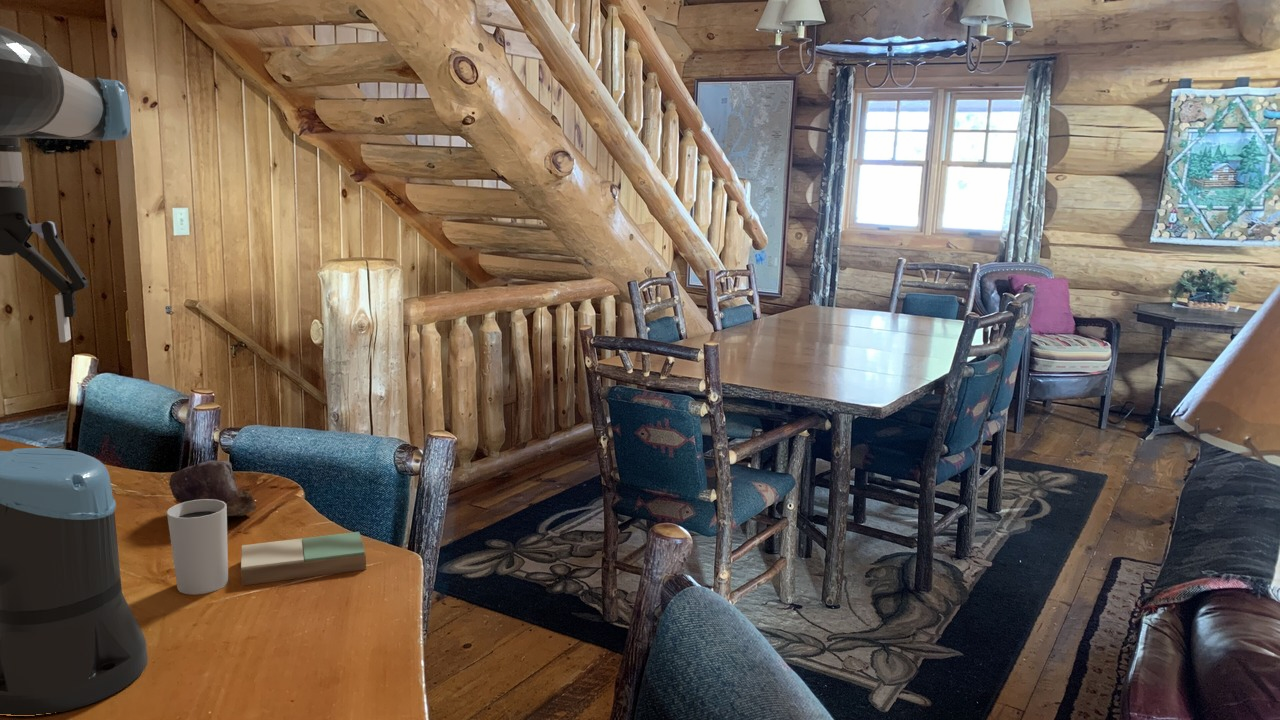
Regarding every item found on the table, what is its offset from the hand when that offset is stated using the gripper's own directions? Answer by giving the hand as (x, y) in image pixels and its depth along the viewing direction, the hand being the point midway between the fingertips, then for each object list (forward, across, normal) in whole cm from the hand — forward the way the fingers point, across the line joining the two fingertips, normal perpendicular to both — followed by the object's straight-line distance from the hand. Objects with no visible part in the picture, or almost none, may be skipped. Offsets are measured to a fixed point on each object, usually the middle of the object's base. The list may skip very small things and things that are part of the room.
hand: (9, 342), depth 130 cm
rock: (+27, -24, +1) cm, 36 cm away
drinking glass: (+27, -26, +26) cm, 46 cm away
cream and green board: (+27, -38, +23) cm, 52 cm away
